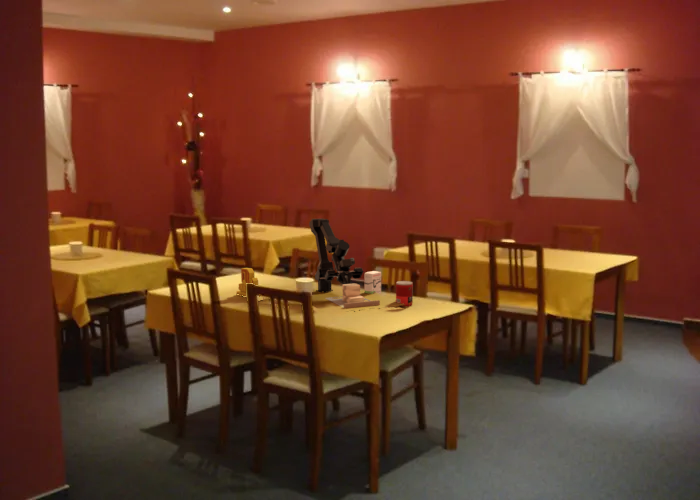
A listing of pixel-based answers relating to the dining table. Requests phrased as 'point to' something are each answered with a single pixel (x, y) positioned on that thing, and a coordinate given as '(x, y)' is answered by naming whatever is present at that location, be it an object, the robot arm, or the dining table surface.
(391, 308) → the dining table surface
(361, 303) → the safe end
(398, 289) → the canned food
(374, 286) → the ink box
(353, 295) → the birch block
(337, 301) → the board
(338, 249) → the robot arm
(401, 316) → the dining table surface
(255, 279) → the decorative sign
